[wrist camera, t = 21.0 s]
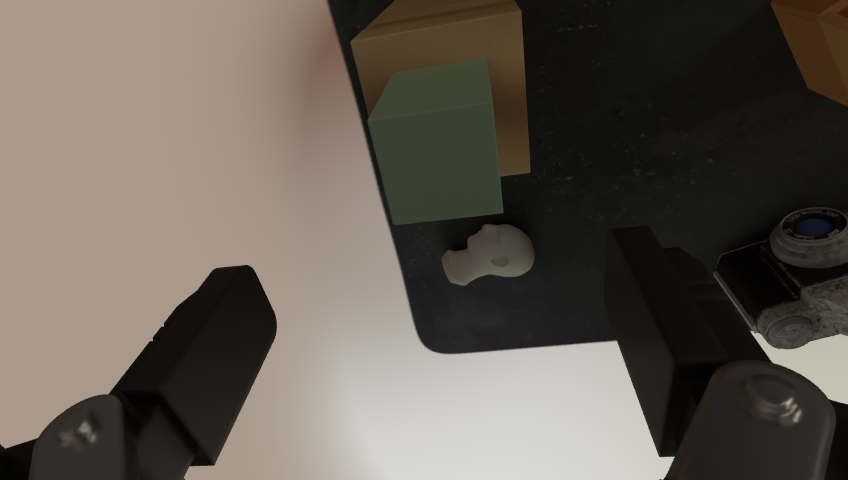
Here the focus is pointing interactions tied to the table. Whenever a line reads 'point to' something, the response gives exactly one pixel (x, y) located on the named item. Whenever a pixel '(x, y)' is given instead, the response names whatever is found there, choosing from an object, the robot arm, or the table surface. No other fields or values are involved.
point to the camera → (792, 279)
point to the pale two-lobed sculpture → (490, 255)
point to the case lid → (837, 41)
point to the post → (454, 58)
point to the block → (438, 143)
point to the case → (812, 43)
